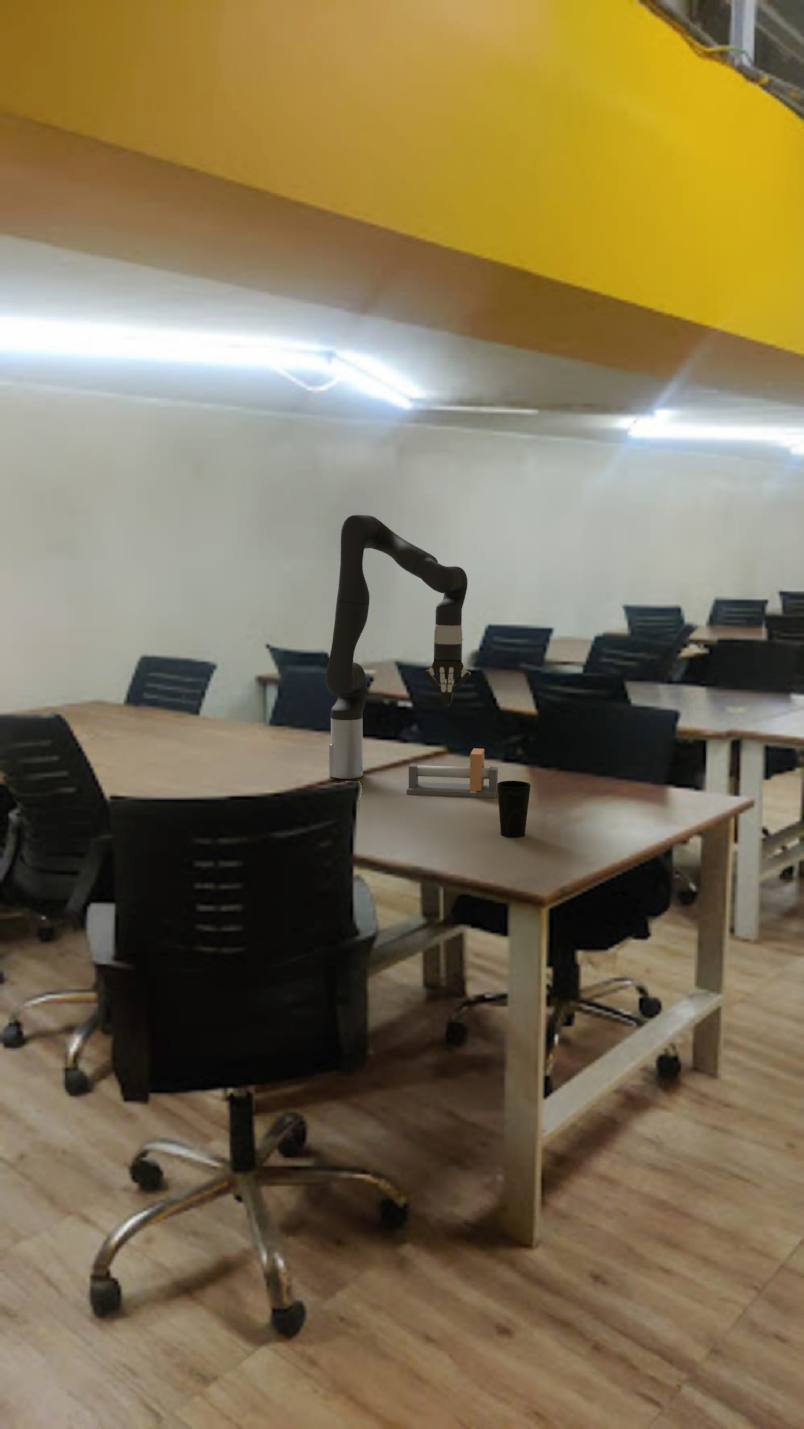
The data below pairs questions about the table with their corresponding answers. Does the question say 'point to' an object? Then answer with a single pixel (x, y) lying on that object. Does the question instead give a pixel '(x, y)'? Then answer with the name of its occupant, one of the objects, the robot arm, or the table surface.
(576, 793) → the table surface
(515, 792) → the cup
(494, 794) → the pipe rail
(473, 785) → the collar
